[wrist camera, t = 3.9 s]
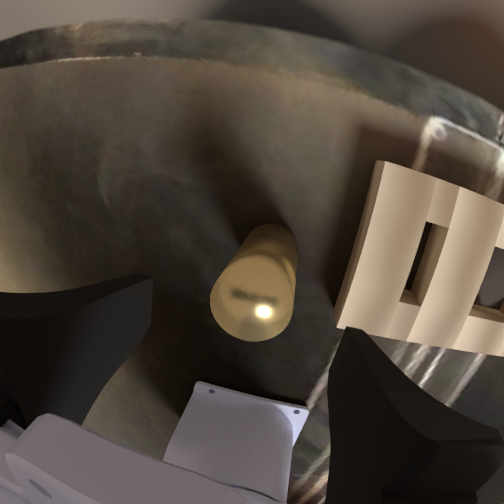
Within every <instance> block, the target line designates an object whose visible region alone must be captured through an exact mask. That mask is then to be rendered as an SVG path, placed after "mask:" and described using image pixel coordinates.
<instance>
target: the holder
mask: <svg viewBox="0 0 504 504" xmlns="http://www.w3.org/2000/svg"><path fill="white" fill-rule="evenodd" d="M426 221H427V222H430V223H432V227H431V230H430V233H429V237H428V240H427V243H426V246H425V249H424V252H423V255H422V258H421V261H420V264H419V267H418V270H417V273H416V276H415V279H414V281H413V284H412V287H411V289H410V290H406V289H404V287H405V284H406V281H407V278H408V276H409V273H410V270H411V267H412V264H413V261H414V258H415V255H416V252H417V249H418V246H419V243H420V239H421V236H422V233H423V229H424V226H425V223H426ZM495 246H497V247H500V248H502V249H504V204H501V203H499V202H497V201H494V200H492V199H490V198H487V197H485V196H483V195H480V194H478V193H475V192H473V191H470V190H468V189H465V188H462V187H460V186H457V185H455V184H452V183H449V182H447V181H444V180H441V179H438V178H436V177H433V176H430V175H427V174H424V173H421V172H418V171H415V170H412V169H409V168H406V167H403V166H400V165H397V164H393V163H390V162H387V161H380V160H375V164H374V169H373V173H372V177H371V182H370V186H369V190H368V194H367V198H366V202H365V206H364V210H363V214H362V217H361V221H360V225H359V228H358V232H357V236H356V239H355V243H354V246H353V250H352V253H351V257H350V260H349V263H348V267H347V270H346V273H345V276H344V280H343V283H342V286H341V289H340V292H339V295H338V298H337V301H336V304H335V307H334V312H335V319H336V325H337V328H342V329H345V328H346V326H348V327H353V328H358V329H362V330H363V331H365V332H366V333H367V334H371V335H376V336H382V337H387V338H392V339H397V340H403V341H408V342H414V343H420V344H425V345H431V346H437V347H443V348H449V349H456V350H462V351H469V352H476V353H482V354H490V355H497V356H504V300H503V302H502V305H501V307H500V309H499V310H496V309H492V308H488V307H484V306H480V305H475V304H473V303H474V301H475V298H476V296H477V294H478V291H479V289H480V286H481V283H482V281H483V278H484V276H485V273H486V270H487V267H488V264H489V262H490V259H491V256H492V253H493V250H494V247H495Z"/></svg>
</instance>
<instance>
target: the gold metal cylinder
mask: <svg viewBox="0 0 504 504" xmlns="http://www.w3.org/2000/svg"><path fill="white" fill-rule="evenodd" d="M297 258H298V245H297V241H296V239H295V237H294V235H293V234H292V233H291V232H290V231H289V230H288V229H287V228H285V227H284V226H281V225H279V224H274V223H267V224H262V225H260V226H258V227H256V228H255V229H253V230H252V231H251V232H250V234H249V235H248V236H247V238H246V239H245V241H244V242H243V244H242V245H241V246H240V248H239V249H238V251H237V252H236V254H235V255H234V257H233V258H232V259H231V261H230V262H229V264H228V265H227V267H226V268H225V270H224V271H223V273H222V274H221V275H220V277H219V278H218V280H217V281H216V283H215V284H214V286H213V289H212V291H211V295H210V306H211V311H212V314H213V316H214V318H215V320H216V321H217V323H218V324H219V325H220V326H221V327H222V328H223V329H224V330H225V331H226V332H227V333H229V334H230V335H232V336H234V337H236V338H239V339H242V340H246V341H263V340H267V339H270V338H273V337H275V336H276V335H278V334H279V333H281V332H282V331H283V330H284V329H285V328H286V326H287V325H288V323H289V321H290V319H291V316H292V312H293V303H294V292H295V281H296V270H297Z"/></svg>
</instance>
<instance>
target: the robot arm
mask: <svg viewBox="0 0 504 504" xmlns="http://www.w3.org/2000/svg"><path fill="white" fill-rule="evenodd" d="M153 279H154V278H151V277H148V276H144V275H141V274H135V275H130V276H125V277H121V278H117V279H113V280H109V281H106V282H102V283H98V284H94V285H89V286H85V287H80V288H75V289H70V290H64V291H56V292H46V293H7V292H0V504H286V500H287V492H288V483H289V475H290V466H291V456H292V447H293V445H294V443H295V441H296V439H297V437H298V435H299V433H300V431H301V429H302V427H303V425H304V423H305V421H306V418H307V416H308V414H309V409H308V408H307V407H305V406H300V405H295V404H290V403H285V402H281V401H276V400H272V399H267V398H263V397H258V396H254V395H250V394H246V393H242V392H238V391H234V390H230V389H227V388H223V387H219V386H216V385H212V384H209V383H205V382H202V381H197V382H196V384H195V386H194V392H193V394H192V396H191V398H190V400H189V402H188V404H187V406H186V408H185V411H184V413H183V415H182V417H181V419H180V421H179V423H178V425H177V427H176V429H175V431H174V434H173V436H172V438H171V440H170V442H169V445H168V447H167V450H166V453H165V456H164V459H163V461H162V460H159V459H157V458H154V457H151V456H149V455H146V454H143V453H141V452H138V451H136V450H133V449H131V448H129V447H126V446H124V445H121V444H119V443H117V442H115V441H112V440H110V439H108V438H106V437H104V436H102V435H99V434H97V433H95V432H93V431H91V430H89V429H87V428H85V427H83V426H81V425H82V423H83V421H84V419H85V418H86V416H87V414H88V412H89V410H90V409H91V407H92V405H93V403H94V402H95V400H96V399H97V397H98V395H99V394H100V392H101V391H102V389H103V387H104V386H105V385H106V383H107V382H108V381H109V379H110V378H111V377H112V376H113V374H114V373H115V372H116V371H117V370H118V368H119V367H120V366H121V365H122V364H123V363H124V361H125V360H126V359H127V358H128V357H129V355H130V354H131V353H132V352H133V350H134V349H135V348H136V347H137V346H138V344H139V343H140V341H141V340H142V338H143V337H144V335H145V333H146V332H147V330H148V328H149V326H150V325H151V310H152V293H153ZM210 389H211V390H210ZM212 390H214V391H212ZM327 395H328V410H329V424H330V439H331V453H330V465H329V475H328V484H327V492H326V498H325V504H476V503H477V501H478V498H477V495H476V491H477V490H478V489H479V488H480V487H481V486H482V485H483V484H485V483H486V482H487V481H488V480H489V479H490V478H491V477H492V476H493V475H494V474H495V472H496V471H497V470H498V469H499V468H500V467H501V465H502V463H503V461H504V441H503V439H502V437H501V435H500V433H499V431H498V430H497V429H495V428H492V427H490V426H487V425H484V424H482V423H479V422H477V421H474V420H472V419H470V418H468V417H466V416H464V415H462V414H460V413H458V412H456V411H454V410H453V409H451V408H449V407H447V406H446V405H444V404H443V403H441V402H440V401H438V400H436V399H435V398H433V397H432V396H431V395H429V394H428V393H426V392H425V391H424V390H423V389H421V388H420V387H419V386H418V385H416V384H415V383H414V382H413V381H412V380H411V379H409V378H408V377H407V376H406V375H405V374H404V373H403V372H402V371H401V370H400V369H399V368H398V367H397V366H396V365H395V364H394V363H393V362H392V361H391V360H390V359H389V358H388V357H387V356H386V354H385V353H384V352H383V351H382V350H381V349H380V348H379V347H378V345H377V344H376V343H375V342H374V341H373V340H372V339H371V338H370V337H369V336H368V334H367V333H366V332H365V331H363V330H362V329H358V328H353V327H348V326H346V328H345V331H344V333H343V336H342V339H341V341H340V344H339V346H338V349H337V351H336V354H335V356H334V359H333V361H332V364H331V366H330V369H329V375H328V390H327ZM295 410H299V411H295Z"/></svg>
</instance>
